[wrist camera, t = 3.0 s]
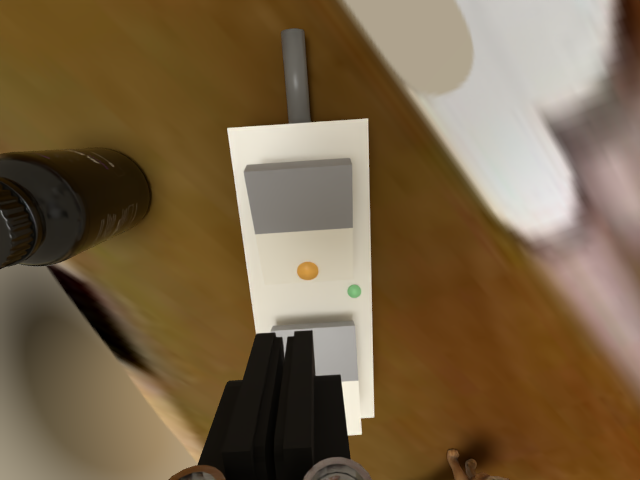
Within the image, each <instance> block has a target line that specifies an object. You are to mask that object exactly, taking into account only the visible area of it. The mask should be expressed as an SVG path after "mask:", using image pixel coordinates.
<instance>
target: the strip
mask: <svg viewBox="0 0 640 480" xmlns="http://www.w3.org/2000/svg"><path fill="white" fill-rule="evenodd" d="M281 39H282V51H283V62H284V73H285V85H286V96H287V107H288V119H289V124H280V125H266V126H251V127H237V128H227V130H228V137H229V145H230V152H231V159H232V166H233V173H234V180H235V187H236V194H237V201H238V208H239V216H240V223H241V230H242V237H243V244H244V251H245V258H246V265H247V272H248V279H249V287H250V294H251V301H252V308H253V315H254V322H255V329H256V334H257V333H271V332H270V331H271V329H272V327H273V326H276V325H291V324H307V323H323V322H338V321H354V324H355V332H356V349H357V365H358V381H359V398H360V414H361V418H372V417H374V384H373V336H372V287H371V238H370V189H369V141H368V119H354V120H339V121H324V122H311V120H310V106H309V92H308V77H307V63H306V48H305V34H304V30H302V29H286V30H283V31H282V32H281ZM339 158H350V159H351V162H352V194H353V280H337V281H322V282H307V283H291V284H276V285H265V284H264V279H263V274H262V268H261V263H260V258H259V252H258V247H257V242H256V236H255V231H254V226H253V220H252V215H251V210H250V204H249V199H248V194H247V188H246V183H245V177H244V170H245V168H246V166H247V165H250V164H265V163H280V162H295V161H310V160H324V159H339Z"/></svg>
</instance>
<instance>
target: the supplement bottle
mask: <svg viewBox="0 0 640 480" xmlns="http://www.w3.org/2000/svg"><path fill="white" fill-rule="evenodd" d="M149 200H150V194H149V188H148V184H147V181H146V179H145V177H144V175H143V174H142V172H141V170H140V169H139V168H138V167H137V166H136V164H134V163H133V162H132V161H131V160H130V159H129V158H127V157H126V156H124V155H122V154H120V153H118V152H116V151H113V150H109V149H104V148H83V149H64V150H45V151H26V152H10V153H3V154H0V269H2V268H4V267H7V266H12V265H16V264H21V265H27V266H48V265H53V264H57V263H59V262H62V261H65V260H67V259H69V258H71V257H73V256H75V255H77V254H79V253H81V252H83V251H86V250H88V249H90V248H92V247H94V246H96V245H98V244H100V243H102V242H104V241H106V240H108V239H110V238H112V237H114V236H116V235H119V234H121V233H123V232H125V231H126V230H129V229H130V228H132V227H134V226H135V225H137V224H138V223H139V222H140V221H141V220H142V219H143V217H144V216H145V214H146V212H147V209H148V206H149Z"/></svg>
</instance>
